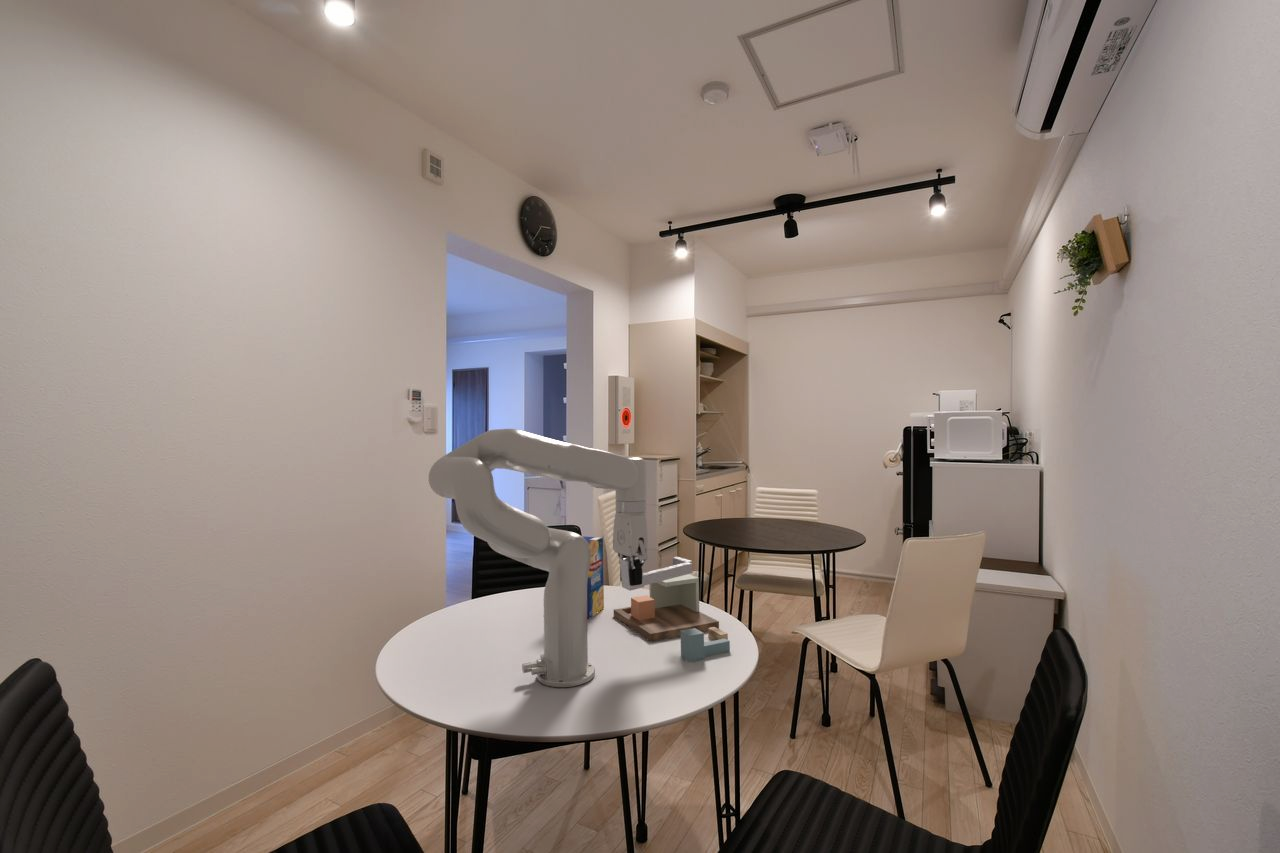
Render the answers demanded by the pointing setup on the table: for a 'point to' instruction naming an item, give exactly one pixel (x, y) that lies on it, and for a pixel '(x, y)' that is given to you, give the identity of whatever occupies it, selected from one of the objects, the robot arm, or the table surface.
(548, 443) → the robot arm
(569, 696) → the table surface
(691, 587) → the cubby
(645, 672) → the table surface
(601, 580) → the blue food box
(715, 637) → the short block
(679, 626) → the deck
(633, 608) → the cube
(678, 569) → the crook
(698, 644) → the light blue l-shaped block
